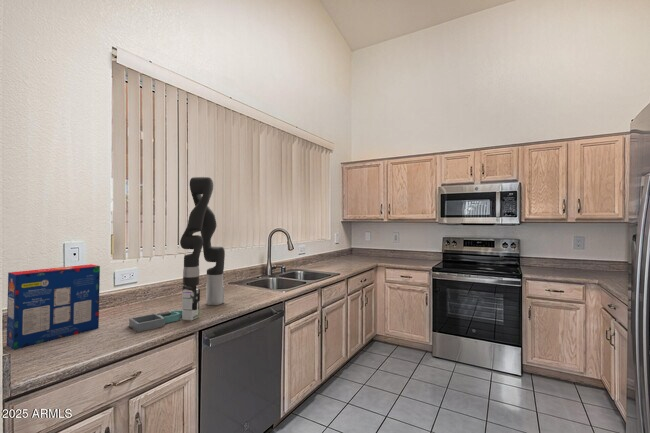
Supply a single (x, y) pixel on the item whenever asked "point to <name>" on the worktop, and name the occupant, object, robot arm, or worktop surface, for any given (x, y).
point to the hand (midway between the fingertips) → (190, 308)
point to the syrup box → (188, 306)
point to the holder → (146, 322)
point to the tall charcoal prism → (164, 314)
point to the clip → (171, 318)
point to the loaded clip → (177, 312)
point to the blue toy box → (51, 304)
